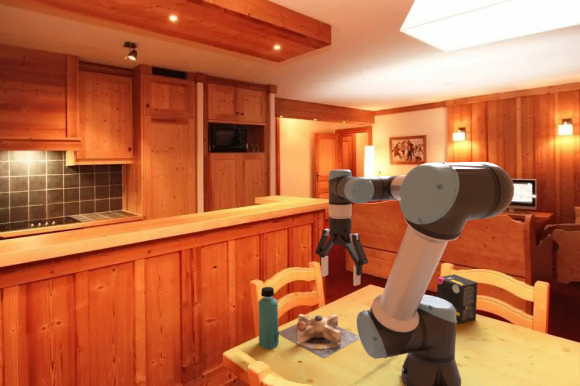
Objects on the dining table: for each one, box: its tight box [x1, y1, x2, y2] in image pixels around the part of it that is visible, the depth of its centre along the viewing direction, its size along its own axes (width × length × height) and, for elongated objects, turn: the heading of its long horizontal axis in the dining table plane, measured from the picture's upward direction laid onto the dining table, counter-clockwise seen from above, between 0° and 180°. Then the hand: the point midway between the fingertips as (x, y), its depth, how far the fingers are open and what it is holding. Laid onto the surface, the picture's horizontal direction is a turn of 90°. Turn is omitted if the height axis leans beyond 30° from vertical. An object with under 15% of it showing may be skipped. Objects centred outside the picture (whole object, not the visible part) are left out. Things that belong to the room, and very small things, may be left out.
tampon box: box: [436, 274, 478, 325], centre depth 140 cm, size 11×9×15 cm
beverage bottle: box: [257, 286, 280, 350], centre depth 117 cm, size 6×7×20 cm
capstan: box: [296, 313, 341, 344], centre depth 123 cm, size 18×19×7 cm
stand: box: [278, 323, 360, 359], centre depth 124 cm, size 22×19×2 cm
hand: (340, 280), depth 122 cm, fingers open, 13 cm apart
